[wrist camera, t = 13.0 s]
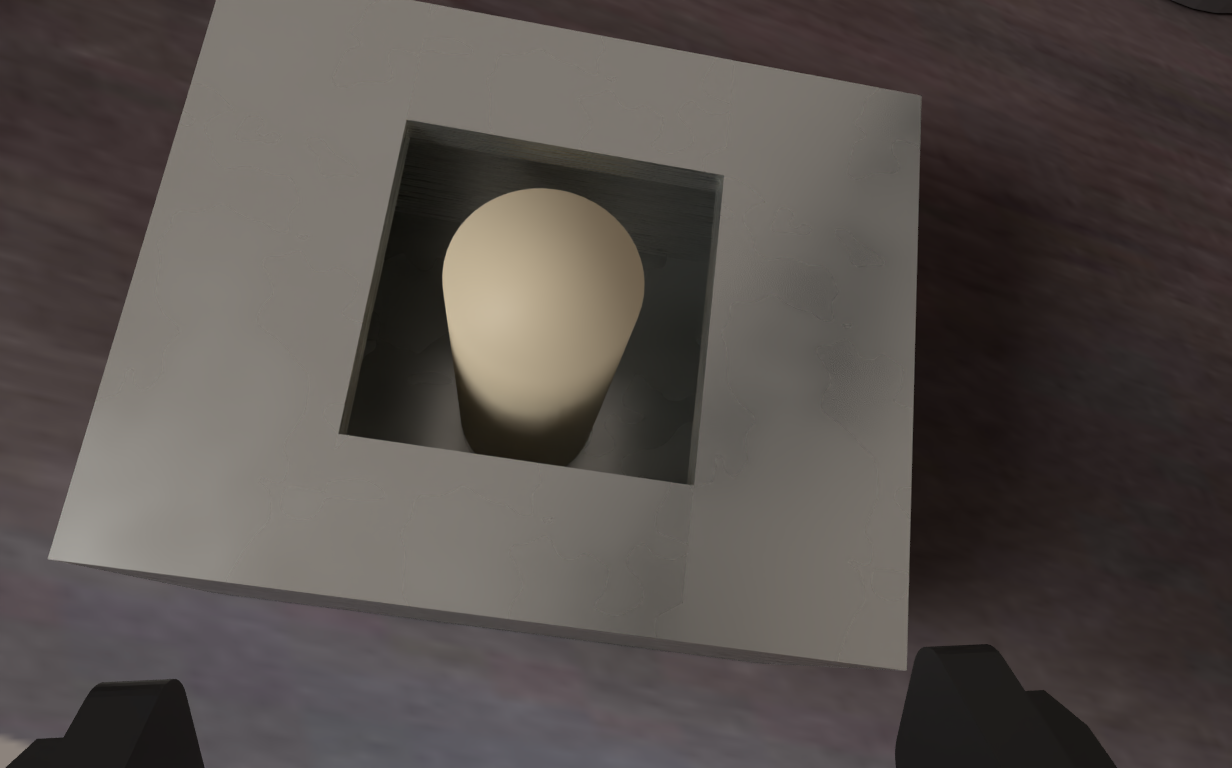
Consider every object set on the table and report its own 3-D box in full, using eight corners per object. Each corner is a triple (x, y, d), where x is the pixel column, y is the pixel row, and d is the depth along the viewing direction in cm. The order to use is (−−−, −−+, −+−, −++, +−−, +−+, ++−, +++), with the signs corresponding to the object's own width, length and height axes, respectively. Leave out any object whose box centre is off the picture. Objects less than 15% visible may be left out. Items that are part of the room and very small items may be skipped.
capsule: (601, 360, 28) (654, 206, 19) (584, 486, 27) (632, 389, 18) (472, 340, 28) (461, 172, 19) (449, 466, 27) (425, 357, 17)
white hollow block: (790, 266, 31) (921, 95, 21) (762, 663, 27) (906, 670, 18) (312, 185, 30) (226, -35, 20) (212, 592, 26) (47, 559, 16)
